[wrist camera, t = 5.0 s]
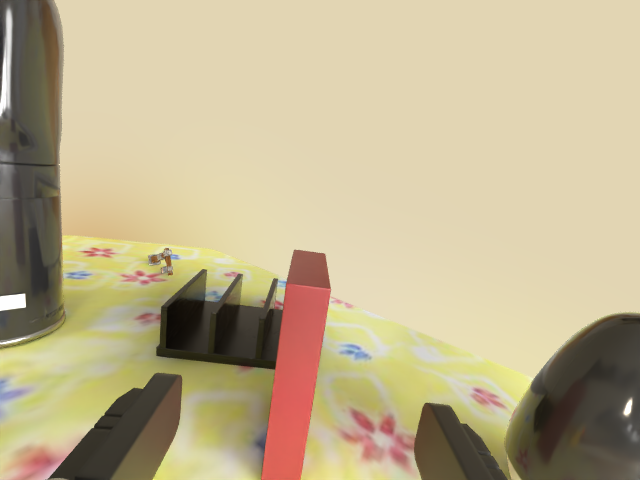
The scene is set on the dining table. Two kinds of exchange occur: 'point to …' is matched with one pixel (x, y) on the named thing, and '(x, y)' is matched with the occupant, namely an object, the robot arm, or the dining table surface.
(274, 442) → the book
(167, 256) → the brown two-tone jointed fixture
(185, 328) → the book rack
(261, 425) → the dining table surface
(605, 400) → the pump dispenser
